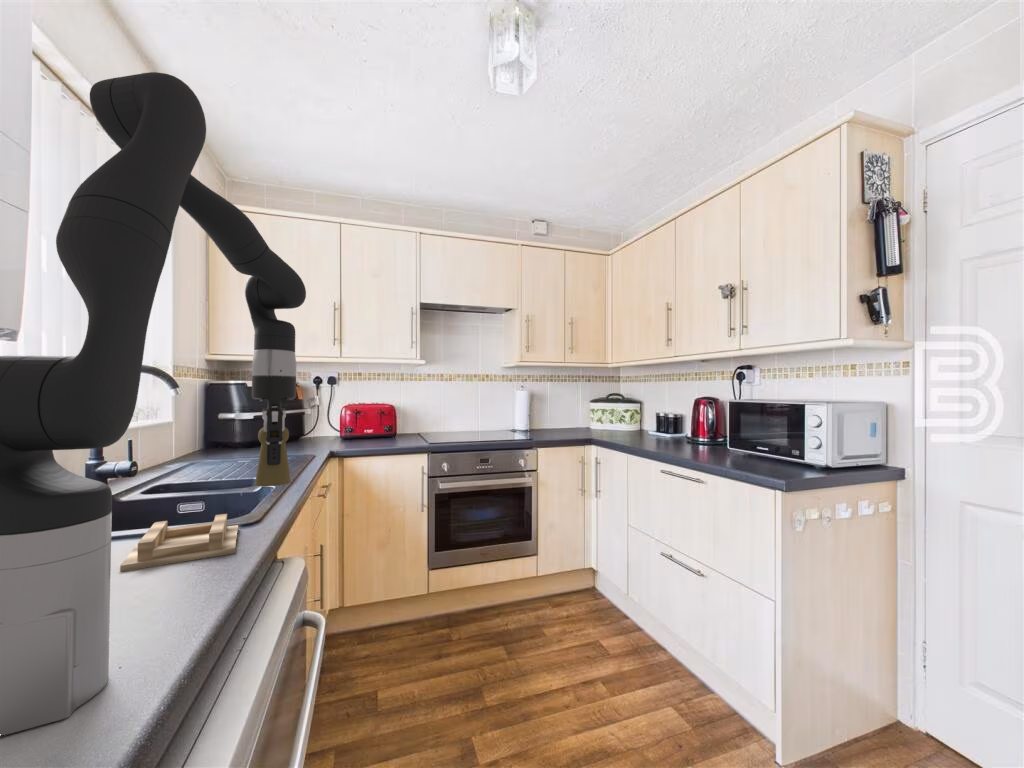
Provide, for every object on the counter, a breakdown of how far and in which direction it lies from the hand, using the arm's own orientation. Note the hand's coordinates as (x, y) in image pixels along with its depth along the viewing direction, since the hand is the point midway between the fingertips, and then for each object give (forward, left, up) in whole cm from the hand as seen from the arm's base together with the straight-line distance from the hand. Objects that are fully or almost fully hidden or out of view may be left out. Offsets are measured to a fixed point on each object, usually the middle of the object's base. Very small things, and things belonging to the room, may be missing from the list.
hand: (273, 462), depth 83 cm
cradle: (+8, +14, -16) cm, 23 cm away
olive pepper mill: (0, 0, -4) cm, 4 cm away
